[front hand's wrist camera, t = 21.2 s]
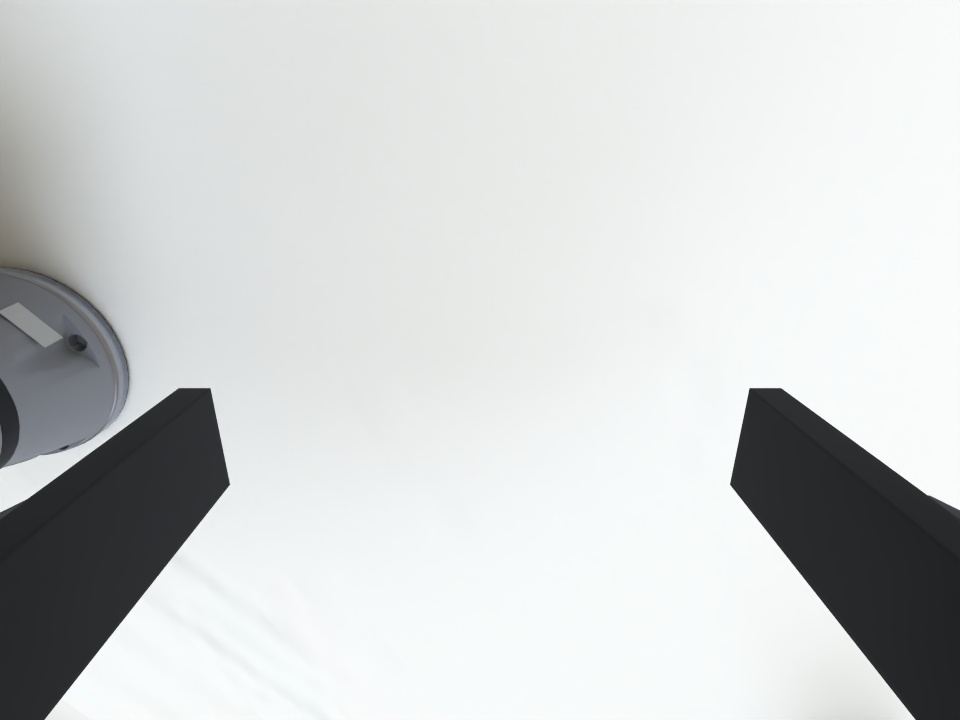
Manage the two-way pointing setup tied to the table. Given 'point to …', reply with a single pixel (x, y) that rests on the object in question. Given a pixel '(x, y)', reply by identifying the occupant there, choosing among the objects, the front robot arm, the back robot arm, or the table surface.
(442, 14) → the table surface
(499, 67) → the table surface
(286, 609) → the table surface
